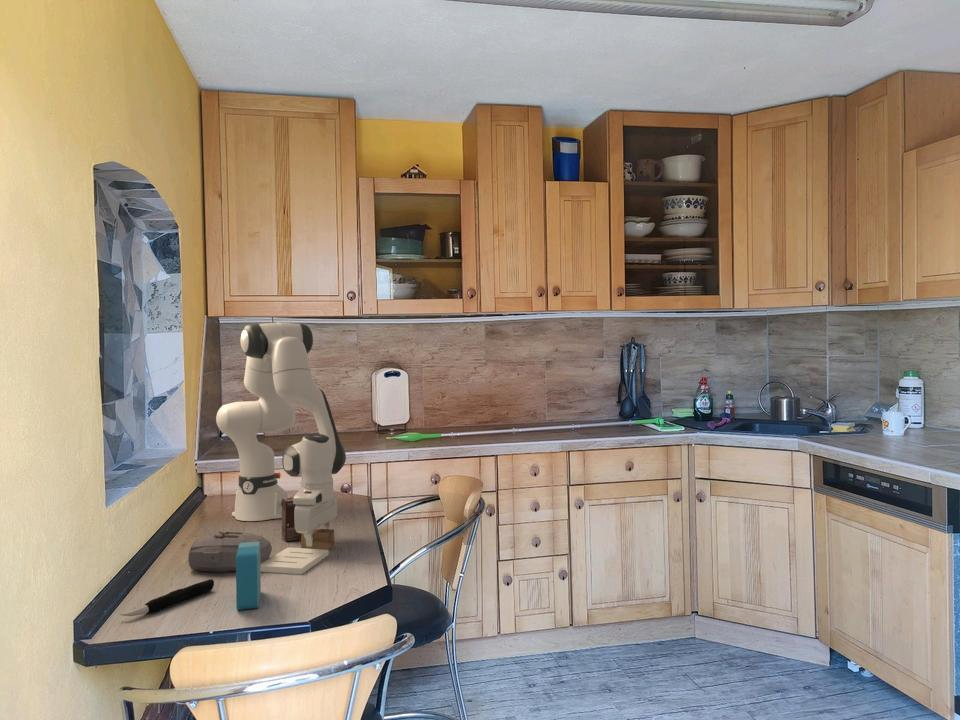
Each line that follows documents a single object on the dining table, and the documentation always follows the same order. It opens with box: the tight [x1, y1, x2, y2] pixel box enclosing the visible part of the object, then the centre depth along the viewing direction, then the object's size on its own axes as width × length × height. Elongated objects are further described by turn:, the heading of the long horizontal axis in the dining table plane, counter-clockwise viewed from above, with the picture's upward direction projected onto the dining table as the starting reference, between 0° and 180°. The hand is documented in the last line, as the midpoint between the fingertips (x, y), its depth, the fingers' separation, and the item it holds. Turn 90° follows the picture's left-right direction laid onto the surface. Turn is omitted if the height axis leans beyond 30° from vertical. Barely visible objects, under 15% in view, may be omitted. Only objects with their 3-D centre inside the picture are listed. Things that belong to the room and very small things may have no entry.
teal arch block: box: [235, 542, 262, 611], centre depth 150 cm, size 12×4×12 cm, turn 16°
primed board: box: [260, 547, 330, 575], centre depth 177 cm, size 16×12×2 cm
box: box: [281, 496, 301, 542], centre depth 200 cm, size 6×4×12 cm
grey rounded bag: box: [187, 531, 273, 573], centre depth 176 cm, size 15×8×20 cm
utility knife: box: [118, 578, 215, 617], centre depth 149 cm, size 22×4×3 cm, turn 152°
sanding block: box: [300, 528, 336, 551], centre depth 191 cm, size 4×8×5 cm, turn 78°
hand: (317, 541), depth 191 cm, fingers open, 8 cm apart
